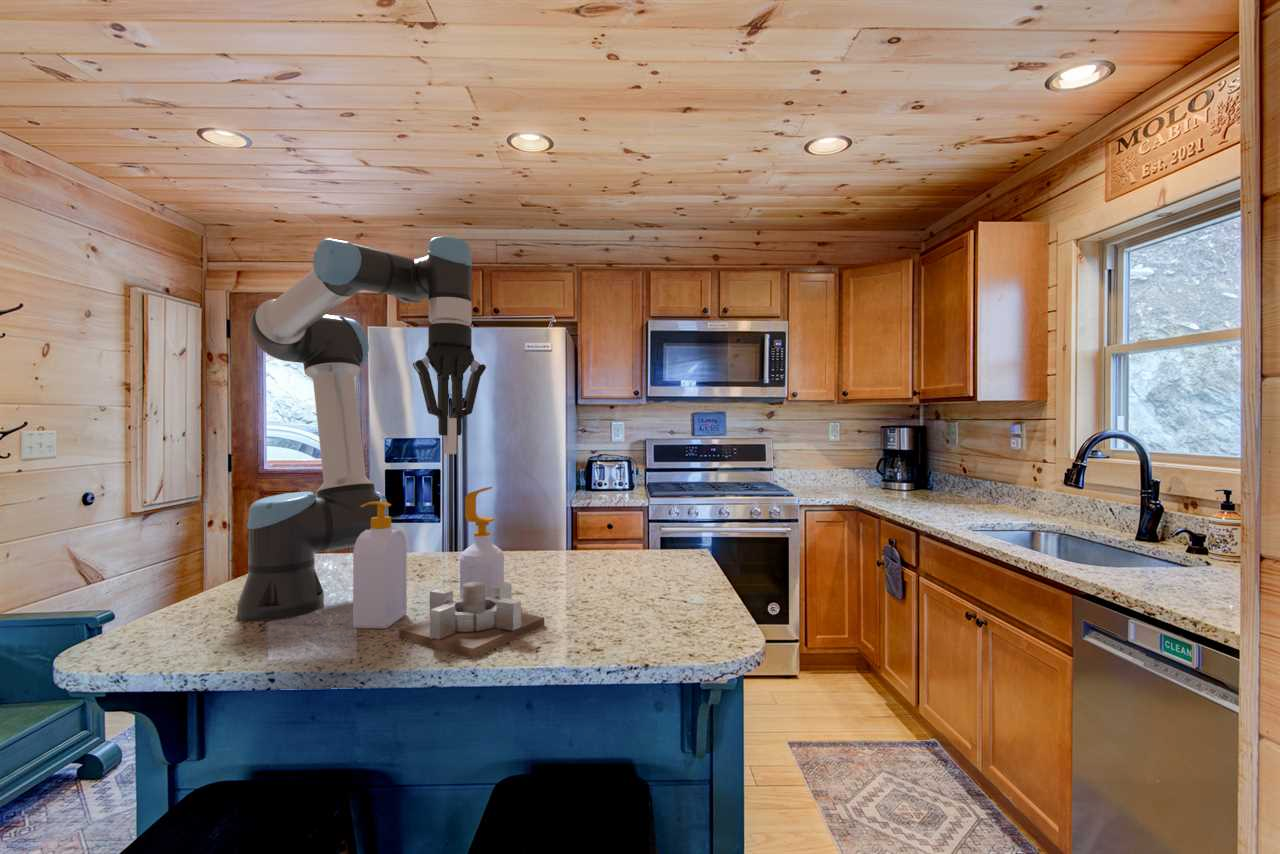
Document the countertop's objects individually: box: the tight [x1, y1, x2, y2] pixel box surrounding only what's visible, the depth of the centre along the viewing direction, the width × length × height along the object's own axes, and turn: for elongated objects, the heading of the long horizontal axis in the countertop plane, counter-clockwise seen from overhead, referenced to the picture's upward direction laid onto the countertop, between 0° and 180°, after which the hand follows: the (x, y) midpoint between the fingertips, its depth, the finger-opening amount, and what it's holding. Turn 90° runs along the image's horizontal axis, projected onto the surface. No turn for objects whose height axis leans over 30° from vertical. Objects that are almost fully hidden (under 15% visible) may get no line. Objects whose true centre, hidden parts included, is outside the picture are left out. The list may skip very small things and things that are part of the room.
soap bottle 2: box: [459, 486, 505, 600], centre depth 125 cm, size 9×9×25 cm
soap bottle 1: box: [352, 501, 408, 629], centre depth 112 cm, size 9×7×23 cm
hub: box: [398, 582, 545, 659], centre depth 106 cm, size 18×18×8 cm
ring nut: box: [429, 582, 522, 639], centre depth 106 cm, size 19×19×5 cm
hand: (450, 453), depth 107 cm, fingers closed
